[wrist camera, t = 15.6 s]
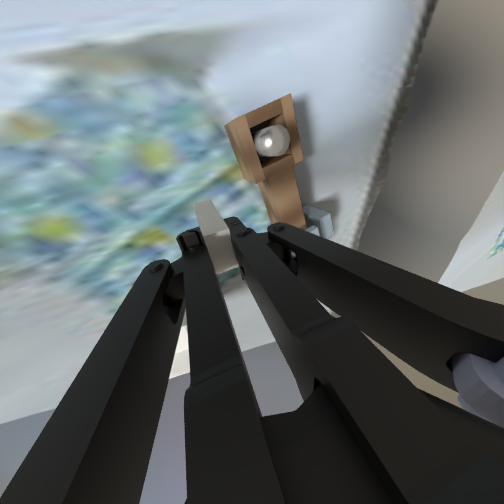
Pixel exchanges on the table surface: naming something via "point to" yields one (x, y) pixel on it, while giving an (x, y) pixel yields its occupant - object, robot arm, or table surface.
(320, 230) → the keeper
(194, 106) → the table surface
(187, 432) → the robot arm
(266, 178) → the link
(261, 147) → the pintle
